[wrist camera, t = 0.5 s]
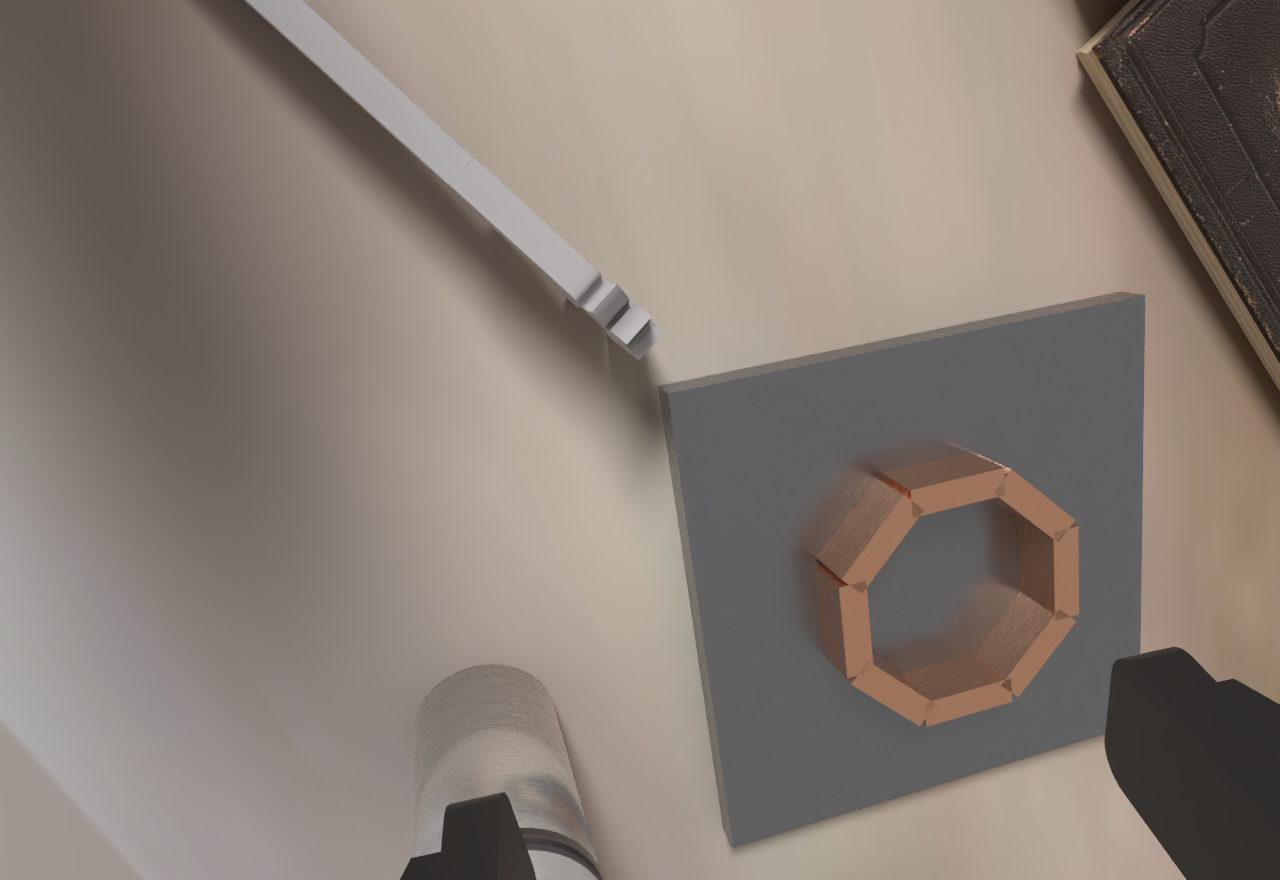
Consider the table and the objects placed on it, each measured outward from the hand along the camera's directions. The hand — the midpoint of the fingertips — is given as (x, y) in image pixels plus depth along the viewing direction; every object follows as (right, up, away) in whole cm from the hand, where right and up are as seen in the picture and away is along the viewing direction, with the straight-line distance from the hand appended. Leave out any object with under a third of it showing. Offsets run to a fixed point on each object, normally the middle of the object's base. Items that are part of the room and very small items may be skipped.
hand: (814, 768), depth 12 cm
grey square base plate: (+8, -1, +23) cm, 24 cm away
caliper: (-10, +14, +15) cm, 23 cm away
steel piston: (-8, -6, +20) cm, 23 cm away
